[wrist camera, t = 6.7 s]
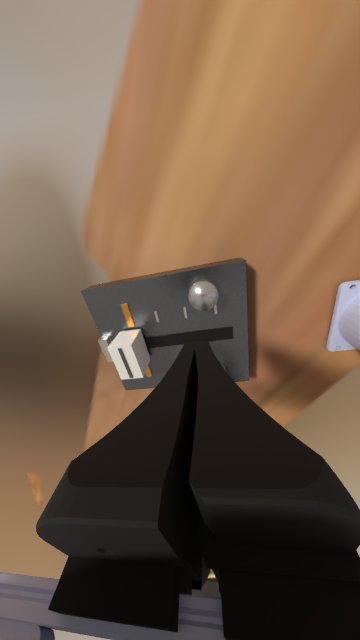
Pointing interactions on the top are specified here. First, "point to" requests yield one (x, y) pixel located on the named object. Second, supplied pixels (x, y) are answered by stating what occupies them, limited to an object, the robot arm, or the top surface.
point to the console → (177, 315)
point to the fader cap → (129, 354)
